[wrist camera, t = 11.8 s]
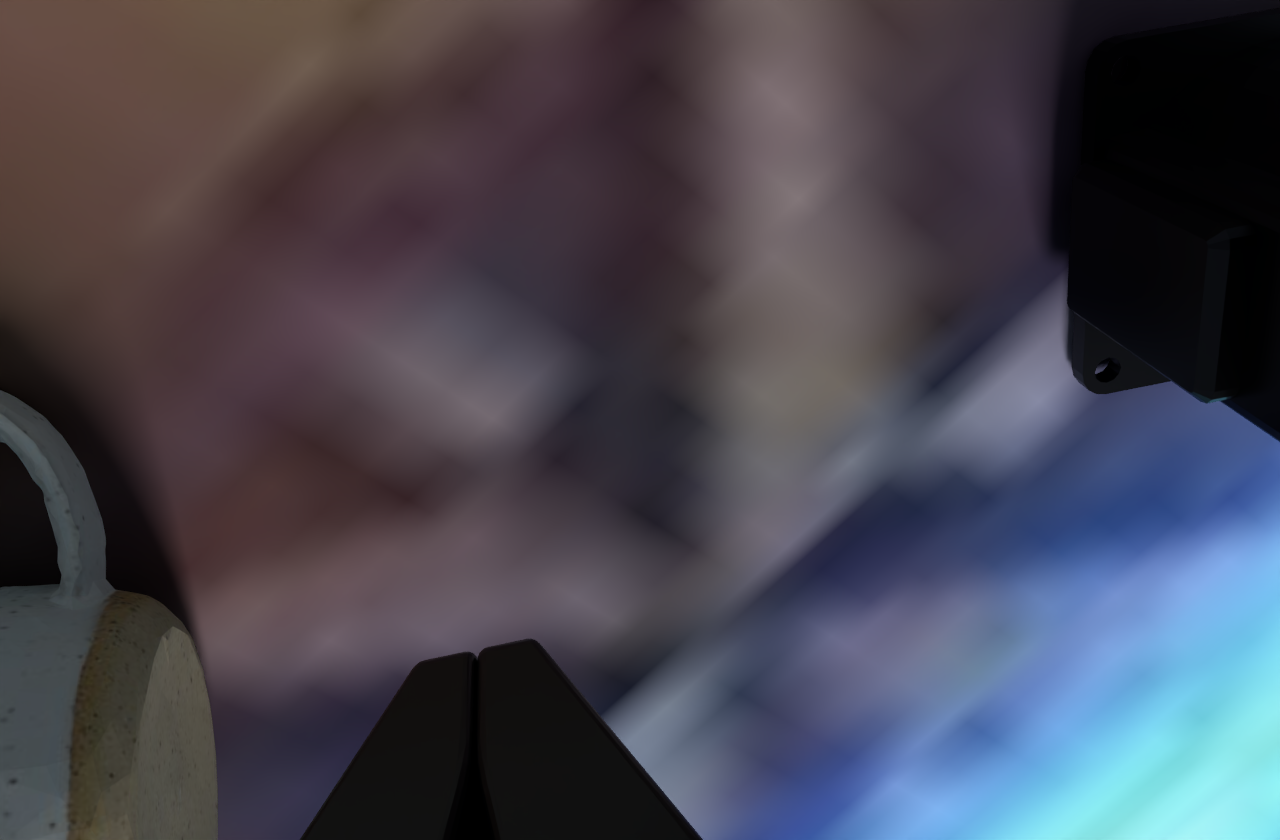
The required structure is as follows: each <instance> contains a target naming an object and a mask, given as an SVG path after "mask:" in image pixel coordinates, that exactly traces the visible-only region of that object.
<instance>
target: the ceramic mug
mask: <svg viewBox="0 0 1280 840" xmlns="http://www.w3.org/2000/svg"><path fill="white" fill-rule="evenodd" d="M0 442H3V443H6V444H7V445H8V446H9V447H10V448H11V449H12V450H13V451H14V452H15V453H16V454H17V456H18V457H19V458H20V460H21V461H22V463H23V464H24V466H25V467H26V469H27V470H28V472H29V474H30V476H31V477H32V479H33V480H34V482H35V483H36V484H37V485H38V486H39V487H40V488H41V489H42V491H43V494H44V502H45V505H46V508H47V512H48V515H49V518H50V522H51V525H52V528H53V532H54V535H55V539H56V542H57V546H58V561H57V563H58V566H59V569H60V572H61V575H62V576H61V582H60V584H50V585H35V586H11V587H7V586H4V587H1V588H0V840H217V835H218V797H217V770H216V752H215V743H214V734H213V725H212V716H211V709H210V702H209V698H208V694H207V689H206V683H205V678H204V672H203V668H202V665H201V662H200V659H199V656H198V653H197V650H196V647H195V645H194V642H193V639H192V637H191V635H190V634H189V632H188V631H187V629H186V628H185V626H184V625H183V623H182V622H181V621H180V620H179V619H178V618H177V617H176V616H175V615H174V614H173V613H172V612H171V611H170V610H169V609H168V608H167V607H165V606H164V605H163V604H162V603H161V602H159V601H157V600H155V599H153V598H152V597H150V596H148V595H143V594H138V593H133V592H127V591H121V590H115V589H114V588H113V587H112V586H111V584H110V583H109V582H108V581H107V580H106V555H105V547H106V536H105V531H104V526H103V521H102V517H101V515H100V512H99V509H98V506H97V503H96V501H95V498H94V495H93V493H92V490H91V487H90V485H89V482H88V479H87V476H86V473H85V471H84V469H83V467H82V465H81V464H80V462H79V460H78V459H77V457H76V456H75V454H74V452H73V451H72V449H71V448H70V446H69V445H68V443H67V442H66V441H65V439H64V438H63V436H62V435H61V434H60V433H59V432H58V431H57V430H56V429H55V428H54V427H53V426H52V425H51V423H50V422H49V421H48V420H47V419H46V418H45V417H44V416H43V415H41V414H40V413H38V412H37V411H36V410H34V409H33V408H31V407H30V406H28V405H27V404H25V403H24V402H22V401H21V400H19V399H18V398H16V397H14V396H12V395H10V394H8V393H6V392H4V391H2V390H0Z"/></svg>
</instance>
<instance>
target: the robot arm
mask: <svg viewBox="0 0 1280 840" xmlns="http://www.w3.org/2000/svg"><path fill="white" fill-rule="evenodd" d="M1123 56H1126V58H1127V63H1128V66H1127V69H1126V72H1125V74H1124V75H1123V76H1122V77H1121V78H1120V79H1119V80H1117V81H1115V82H1113V80H1112V75H1111V72H1112V69H1113V65H1114V64H1115V63H1116V62H1117V60H1118V59H1119V58H1121V57H1123ZM1067 303H1068V307H1069V308H1070V309H1071V310H1072V311H1073V312H1074V333H1073V355H1072V370H1073V375H1074V377H1075V378H1076V379H1077V381H1078V382H1079V383H1080V384H1082V385H1083V386H1084V387H1085V388H1087V389H1088V390H1089V391H1091V392H1094V393H1096V394H1108V393H1113V392H1118V391H1123V390H1128V389H1133V388H1138V387H1143V386H1148V385H1153V384H1158V383H1163V382H1169V381H1172V382H1173V383H1175V384H1176V385H1178V386H1179V387H1181V388H1182V389H1183V390H1185V391H1186V392H1188V393H1189V394H1190V395H1192V396H1193V397H1195V398H1196V399H1198V400H1199V401H1200V402H1204V403H1211V402H1216V401H1221V402H1222V403H1224V404H1225V405H1226V406H1228V407H1229V408H1231V409H1232V410H1234V411H1235V412H1237V413H1238V414H1240V415H1241V416H1243V417H1244V418H1245V419H1247V420H1248V421H1250V422H1251V423H1253V424H1254V425H1256V426H1257V427H1259V428H1260V429H1262V430H1263V431H1264V432H1266V433H1267V434H1269V435H1270V436H1272V437H1273V438H1275V439H1276V440H1278V441H1279V442H1280V8H1276V9H1271V10H1265V11H1259V12H1253V13H1247V14H1242V15H1236V16H1230V17H1224V18H1218V19H1213V20H1207V21H1201V22H1195V23H1190V24H1184V25H1178V26H1172V27H1166V28H1161V29H1155V30H1149V31H1143V32H1137V33H1132V34H1126V35H1120V36H1115V37H1112V38H1109V39H1107V40H1104V41H1103V42H1102V43H1101V44H1099V45H1098V46H1097V47H1096V48H1095V49H1094V50H1093V52H1092V54H1091V55H1090V57H1089V59H1088V61H1087V66H1086V70H1085V87H1084V109H1083V131H1082V154H1081V167H1080V168H1079V170H1078V171H1077V173H1076V174H1075V176H1074V178H1073V180H1072V201H1071V226H1070V250H1069V274H1068V298H1067ZM1107 358H1110V360H1109V363H1108V366H1107V367H1106V368H1105V369H1104V370H1103V371H1102V372H1100V373H1098V374H1095V370H1096V367H1097V365H1098V364H1099V363H1100V362H1101V361H1102V360H1104V359H1107ZM300 840H703V839H702V838H701V837H700V836H699V834H698V833H697V832H696V831H695V829H694V828H693V827H692V826H691V825H690V823H689V822H688V821H687V820H686V819H685V817H684V816H683V815H682V814H681V813H680V811H679V810H678V809H677V808H676V807H675V805H674V804H673V803H672V802H671V801H670V799H669V798H668V797H667V796H666V795H665V793H664V792H663V791H662V790H661V789H660V787H659V786H658V785H657V784H656V783H655V781H654V780H653V779H652V778H651V777H650V775H649V774H648V773H647V772H646V771H645V769H644V768H643V767H642V766H641V765H640V763H639V762H638V761H637V760H636V759H635V757H634V756H633V755H632V754H631V753H630V751H629V750H628V749H627V748H626V747H625V745H624V744H623V743H622V742H621V741H620V739H619V738H618V737H617V736H616V735H615V733H614V732H613V731H612V730H611V728H610V727H609V726H608V725H607V724H606V722H605V721H604V720H603V719H602V718H601V716H600V715H599V714H598V713H597V712H596V710H595V709H594V708H593V707H592V706H591V704H590V703H589V702H588V701H587V700H586V698H585V697H584V696H583V695H582V694H581V692H580V691H579V690H578V689H577V688H576V686H575V685H574V684H573V683H572V682H571V680H570V679H569V678H568V677H567V676H566V674H565V673H564V672H563V671H562V670H561V668H560V667H559V666H558V665H557V664H556V662H555V661H554V660H553V659H552V658H551V656H550V655H549V654H548V653H547V652H546V650H545V649H544V648H543V647H542V646H541V645H540V643H538V642H537V641H536V640H533V639H524V640H520V641H515V642H510V643H505V644H500V645H496V646H491V647H487V648H484V649H483V650H482V651H481V652H480V653H479V656H478V658H477V657H476V656H475V655H474V654H473V653H471V652H462V653H457V654H452V655H448V656H443V657H438V658H433V659H428V660H424V661H421V662H419V663H418V664H417V665H416V666H415V667H414V668H413V669H412V670H411V672H410V673H409V675H408V676H407V678H406V680H405V681H404V683H403V684H402V686H401V687H400V689H399V690H398V692H397V693H396V695H395V696H394V698H393V699H392V701H391V702H390V704H389V705H388V707H387V708H386V710H385V711H384V713H383V714H382V716H381V717H380V719H379V720H378V722H377V723H376V725H375V727H374V728H373V730H372V731H371V733H370V734H369V736H368V737H367V739H366V740H365V742H364V743H363V745H362V746H361V748H360V749H359V751H358V752H357V754H356V755H355V757H354V758H353V760H352V761H351V763H350V764H349V766H348V767H347V769H346V771H345V772H344V774H343V775H342V777H341V778H340V780H339V781H338V783H337V784H336V786H335V787H334V789H333V790H332V792H331V793H330V795H329V796H328V798H327V799H326V801H325V802H324V804H323V805H322V807H321V808H320V810H319V811H318V813H317V815H316V816H315V818H314V819H313V821H312V822H311V824H310V825H309V827H308V828H307V830H306V831H305V833H304V834H303V836H302V837H301V839H300Z"/></svg>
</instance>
